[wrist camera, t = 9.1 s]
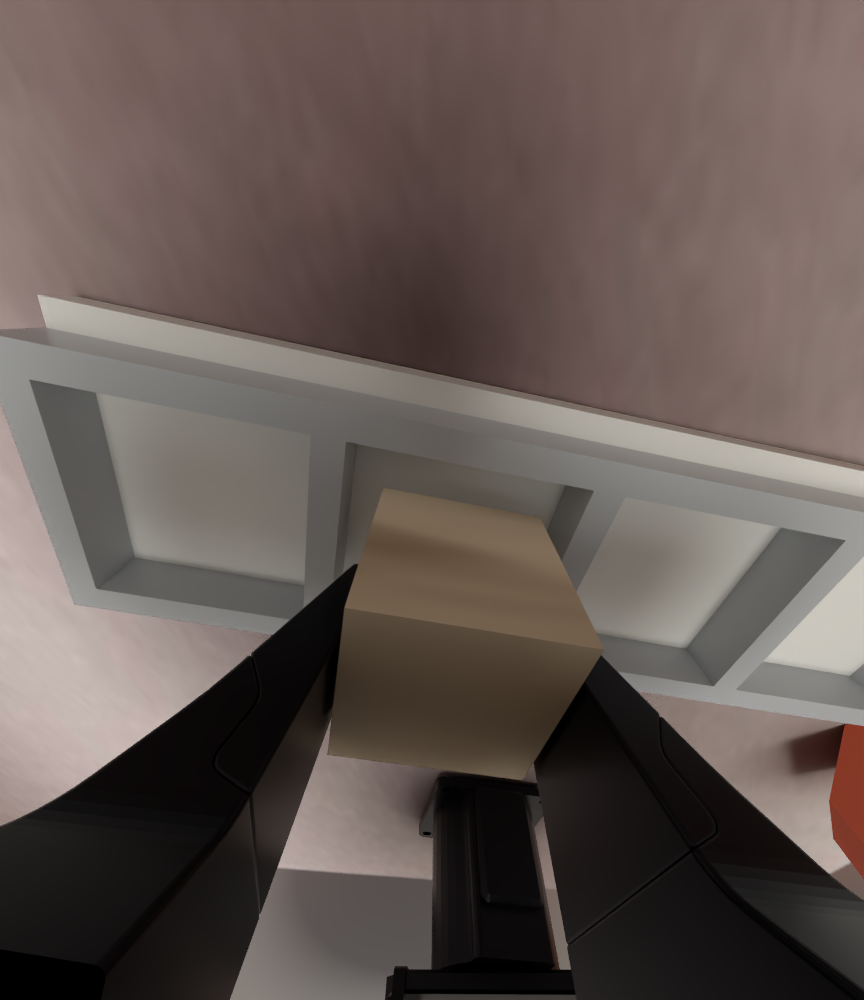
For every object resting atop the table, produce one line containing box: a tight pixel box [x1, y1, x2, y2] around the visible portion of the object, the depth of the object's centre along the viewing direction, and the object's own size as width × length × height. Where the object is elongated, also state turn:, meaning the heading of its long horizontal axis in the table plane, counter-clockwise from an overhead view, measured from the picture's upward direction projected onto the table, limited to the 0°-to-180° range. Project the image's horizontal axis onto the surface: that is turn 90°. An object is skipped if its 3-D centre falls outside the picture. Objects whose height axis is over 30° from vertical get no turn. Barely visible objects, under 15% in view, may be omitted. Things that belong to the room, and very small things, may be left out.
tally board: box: [0, 295, 864, 726], centre depth 11 cm, size 9×28×2 cm, turn 79°
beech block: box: [327, 488, 604, 780], centre depth 8 cm, size 4×4×4 cm
